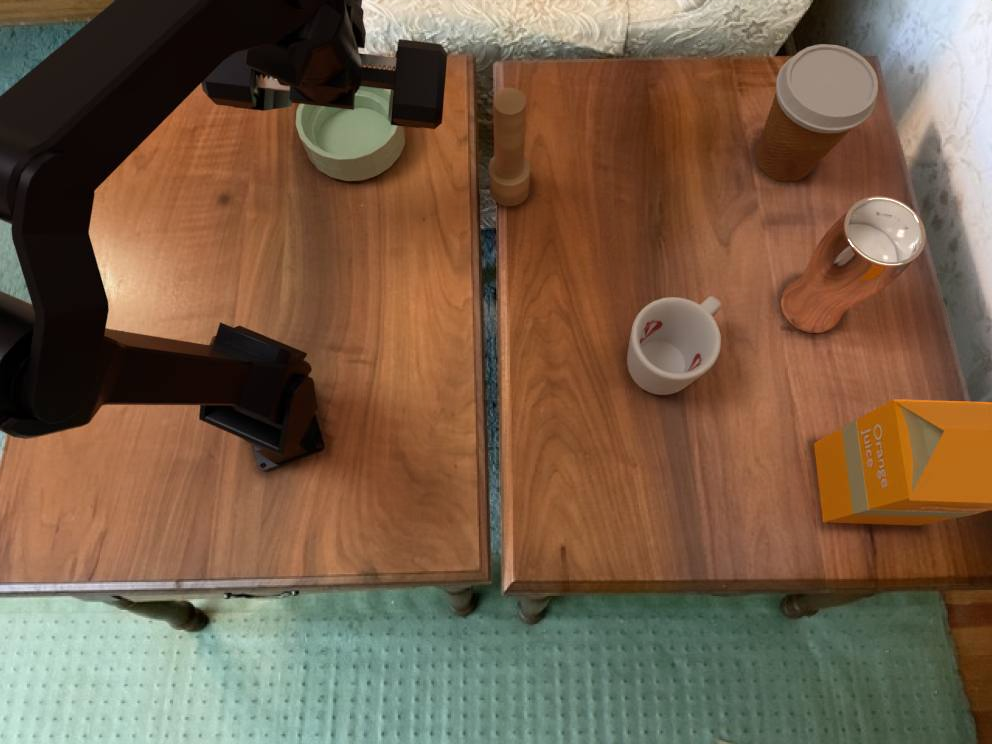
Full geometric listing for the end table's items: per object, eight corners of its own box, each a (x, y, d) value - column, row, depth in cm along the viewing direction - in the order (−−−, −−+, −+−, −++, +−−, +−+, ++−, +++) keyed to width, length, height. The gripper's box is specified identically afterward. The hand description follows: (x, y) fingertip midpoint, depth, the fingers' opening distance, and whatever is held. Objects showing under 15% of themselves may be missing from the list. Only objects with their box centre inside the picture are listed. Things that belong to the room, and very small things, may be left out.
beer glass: (762, 308, 71) (825, 232, 57) (801, 263, 73) (872, 178, 59) (819, 351, 70) (898, 284, 56) (858, 304, 71) (945, 227, 57)
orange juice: (813, 441, 67) (933, 374, 48) (906, 444, 66) (1064, 377, 48) (822, 524, 64) (954, 488, 45) (919, 527, 64) (1092, 492, 45)
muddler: (535, 199, 76) (541, 112, 63) (497, 211, 76) (495, 126, 62) (520, 167, 77) (523, 75, 64) (483, 179, 77) (478, 89, 64)
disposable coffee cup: (730, 178, 76) (769, 102, 65) (754, 111, 79) (795, 28, 68) (816, 206, 75) (870, 134, 64) (837, 138, 78) (893, 57, 67)
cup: (672, 297, 72) (692, 260, 64) (733, 348, 70) (760, 316, 62) (601, 366, 70) (613, 336, 62) (662, 421, 68) (681, 397, 60)
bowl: (418, 166, 78) (413, 140, 73) (322, 196, 77) (311, 172, 72) (389, 90, 81) (382, 61, 77) (296, 118, 80) (284, 90, 76)
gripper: (455, -64, 49) (450, 28, 64) (179, -103, 47) (242, 2, 62) (442, 98, 49) (440, 151, 65) (170, 67, 48) (234, 128, 63)
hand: (341, 105), depth 64 cm, fingers open, 9 cm apart
